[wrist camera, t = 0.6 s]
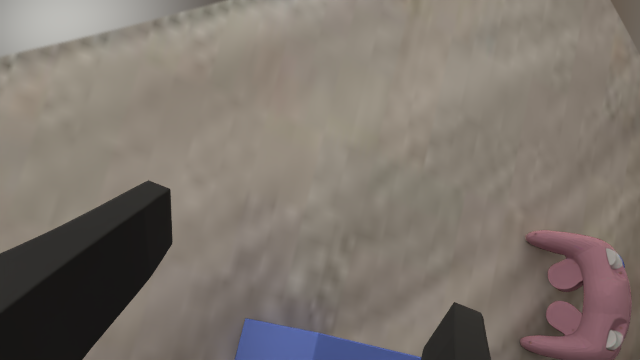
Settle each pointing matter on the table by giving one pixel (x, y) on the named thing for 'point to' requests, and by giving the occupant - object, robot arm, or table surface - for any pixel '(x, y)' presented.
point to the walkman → (304, 345)
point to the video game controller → (599, 299)
